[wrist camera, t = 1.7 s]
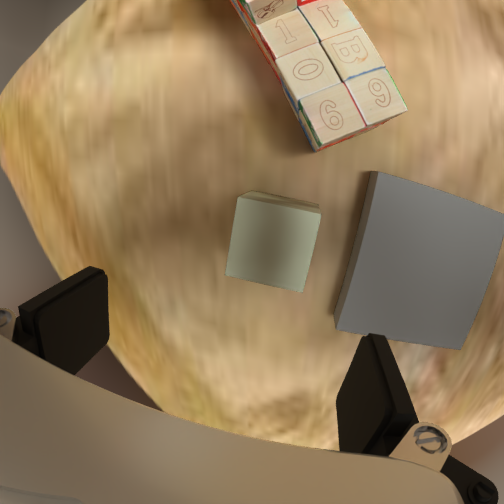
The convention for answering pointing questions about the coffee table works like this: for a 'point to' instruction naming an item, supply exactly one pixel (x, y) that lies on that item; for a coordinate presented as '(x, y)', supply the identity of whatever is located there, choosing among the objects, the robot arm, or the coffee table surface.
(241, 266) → the sage cube
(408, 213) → the plinth
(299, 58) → the stack of blocks
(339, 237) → the coffee table surface
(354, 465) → the robot arm
